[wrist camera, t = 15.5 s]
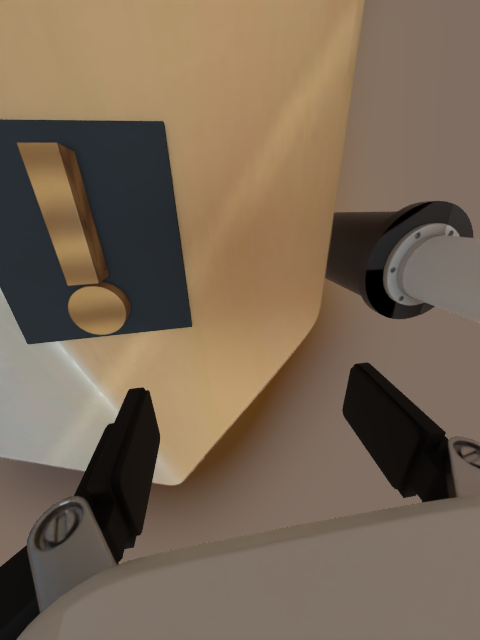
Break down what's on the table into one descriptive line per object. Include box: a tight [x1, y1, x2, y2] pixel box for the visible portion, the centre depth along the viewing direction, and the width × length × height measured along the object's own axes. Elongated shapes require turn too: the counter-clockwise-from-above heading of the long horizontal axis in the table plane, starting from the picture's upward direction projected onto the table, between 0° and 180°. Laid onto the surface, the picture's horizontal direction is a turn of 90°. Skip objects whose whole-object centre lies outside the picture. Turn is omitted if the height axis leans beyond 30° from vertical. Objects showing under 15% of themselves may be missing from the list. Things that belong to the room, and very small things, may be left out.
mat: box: [0, 120, 192, 344], centre depth 26 cm, size 20×22×1 cm
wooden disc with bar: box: [17, 143, 130, 335], centre depth 24 cm, size 18×6×3 cm, turn 2°
